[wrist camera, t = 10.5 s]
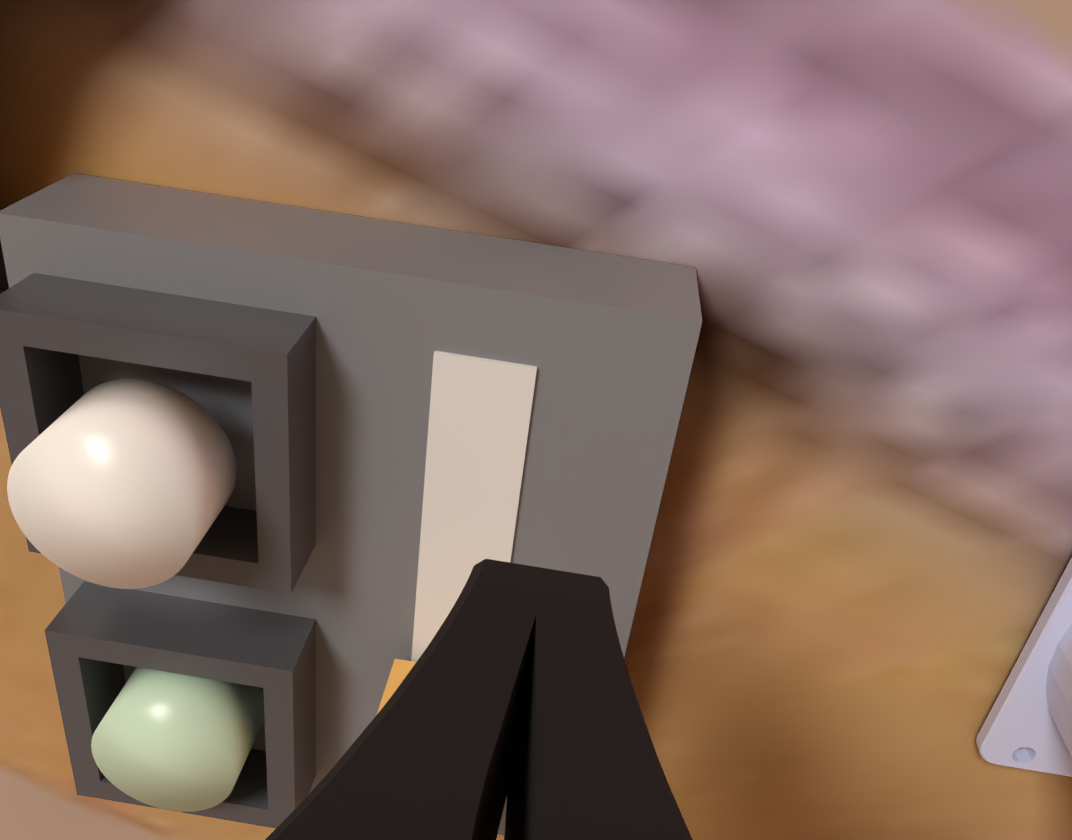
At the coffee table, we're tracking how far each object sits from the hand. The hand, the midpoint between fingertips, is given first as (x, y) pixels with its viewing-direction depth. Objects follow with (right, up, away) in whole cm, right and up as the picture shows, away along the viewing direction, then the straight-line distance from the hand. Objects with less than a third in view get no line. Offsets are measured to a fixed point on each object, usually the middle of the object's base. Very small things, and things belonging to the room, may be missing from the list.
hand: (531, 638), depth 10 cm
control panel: (-4, 0, +11) cm, 12 cm away
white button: (-7, +2, +6) cm, 9 cm away
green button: (-7, -4, +11) cm, 13 cm away
